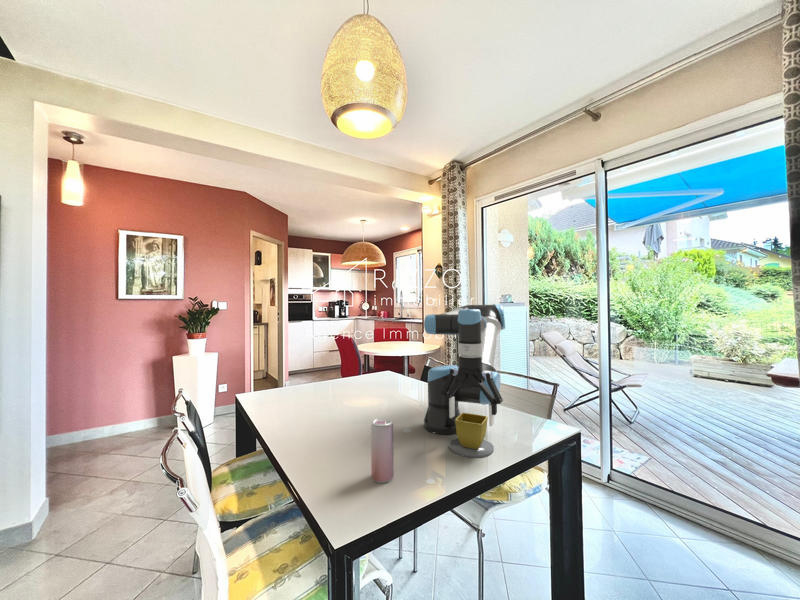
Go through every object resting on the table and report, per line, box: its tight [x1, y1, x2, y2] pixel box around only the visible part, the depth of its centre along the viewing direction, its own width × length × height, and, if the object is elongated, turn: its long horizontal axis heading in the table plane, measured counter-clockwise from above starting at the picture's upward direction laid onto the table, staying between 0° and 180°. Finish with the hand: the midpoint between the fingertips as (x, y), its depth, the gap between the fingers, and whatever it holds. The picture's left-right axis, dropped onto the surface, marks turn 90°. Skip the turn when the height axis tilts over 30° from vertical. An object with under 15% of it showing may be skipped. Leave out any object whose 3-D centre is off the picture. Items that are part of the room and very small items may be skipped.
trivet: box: [449, 437, 495, 459], centre depth 105 cm, size 14×14×1 cm
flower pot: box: [455, 412, 489, 449], centre depth 105 cm, size 9×9×9 cm
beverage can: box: [370, 417, 395, 484], centre depth 87 cm, size 6×6×15 cm
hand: (471, 420), depth 106 cm, fingers open, 13 cm apart
